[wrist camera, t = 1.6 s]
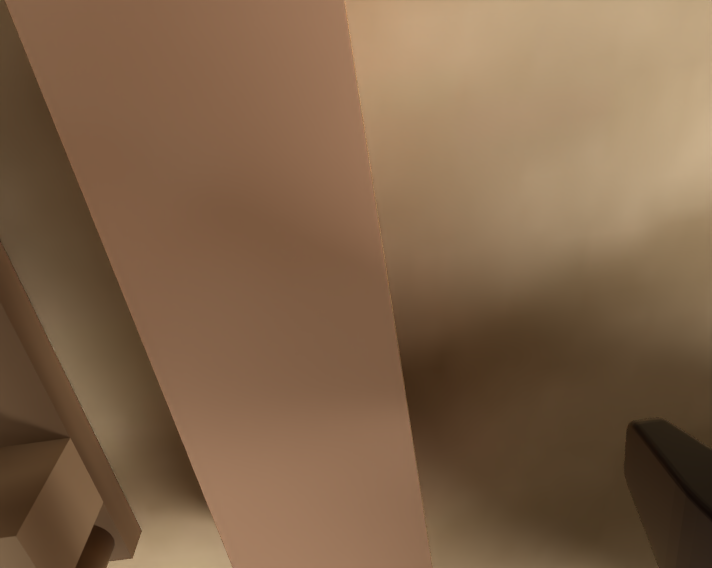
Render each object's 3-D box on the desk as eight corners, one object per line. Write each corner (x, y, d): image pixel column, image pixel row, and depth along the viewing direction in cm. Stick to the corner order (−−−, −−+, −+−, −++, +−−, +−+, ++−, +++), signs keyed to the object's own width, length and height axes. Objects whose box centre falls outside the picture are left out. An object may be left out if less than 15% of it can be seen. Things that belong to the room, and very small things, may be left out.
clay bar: (107, -71, 10) (-28, -81, 6) (327, -112, 9) (320, -150, 6) (294, 529, 16) (281, 689, 13) (424, 512, 16) (448, 669, 13)
